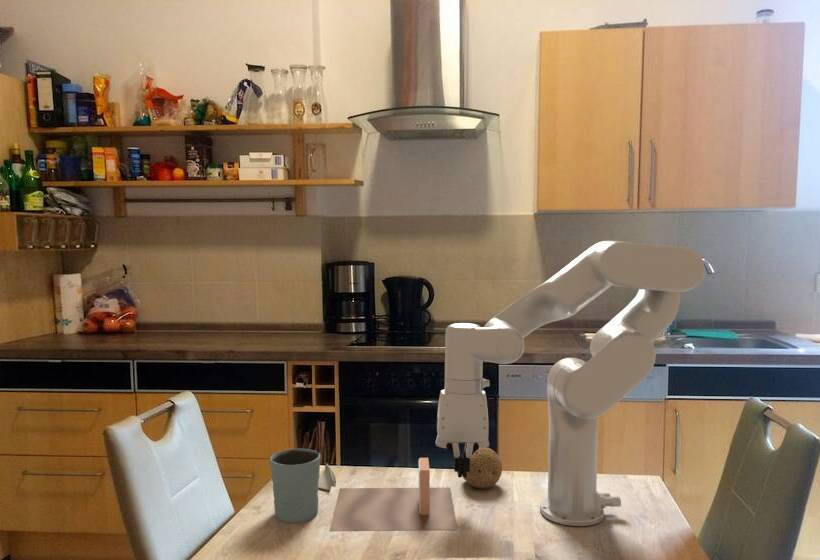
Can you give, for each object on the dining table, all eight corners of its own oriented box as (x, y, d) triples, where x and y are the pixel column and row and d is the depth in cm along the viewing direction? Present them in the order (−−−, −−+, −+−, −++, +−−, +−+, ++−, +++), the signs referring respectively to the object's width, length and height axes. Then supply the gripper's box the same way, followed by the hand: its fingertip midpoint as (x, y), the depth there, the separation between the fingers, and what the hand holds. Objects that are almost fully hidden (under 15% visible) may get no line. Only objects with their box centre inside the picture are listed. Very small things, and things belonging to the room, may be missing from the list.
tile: (428, 500, 133) (428, 457, 132) (429, 514, 126) (429, 470, 125) (418, 500, 133) (418, 457, 132) (419, 514, 126) (419, 470, 125)
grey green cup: (278, 528, 124) (277, 468, 123) (265, 509, 133) (264, 452, 132) (328, 518, 128) (327, 459, 127) (312, 499, 137) (311, 444, 136)
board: (450, 494, 140) (450, 487, 140) (457, 537, 120) (457, 529, 120) (340, 494, 139) (339, 488, 139) (329, 538, 119) (329, 530, 119)
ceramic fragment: (339, 496, 140) (339, 478, 140) (315, 498, 138) (315, 481, 138) (330, 474, 153) (330, 458, 153) (308, 476, 152) (308, 460, 152)
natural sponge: (502, 501, 136) (502, 455, 135) (460, 499, 137) (460, 454, 136) (501, 484, 145) (501, 441, 144) (461, 483, 146) (461, 440, 145)
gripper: (497, 381, 132) (496, 468, 133) (425, 380, 131) (424, 468, 133) (503, 390, 124) (501, 482, 125) (426, 389, 124) (425, 482, 125)
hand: (461, 474), depth 129 cm, fingers closed
